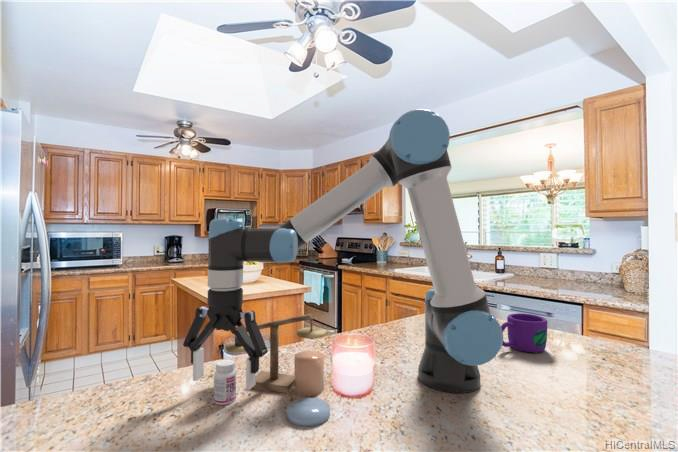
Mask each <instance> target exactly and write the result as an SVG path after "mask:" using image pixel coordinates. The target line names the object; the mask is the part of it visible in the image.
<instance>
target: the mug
mask: <svg viewBox="0 0 678 452" xmlns="http://www.w3.org/2000/svg"><path fill="white" fill-rule="evenodd" d="M506 319H507V320H506V322H504V323H502V324H500V326H501V328H502V331H503V332H504V331H505V329H507V339H508V340H507V342H505V341H504V340H503V344H502V347H505V348H509V347H512V348H513V349H515V350H516V349H517V351H519V350H520V351H519V352H523V351H525V352H524V353H528V352H539V353H542V352H543V351H546V350H545V349H546V347H547V341H548V320H547V318H545V317H542V316H540V315H536V314H530V313H517V312H516V313H511V314H508V315H507V318H506Z"/></svg>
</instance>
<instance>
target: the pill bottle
mask: <svg viewBox="0 0 678 452" xmlns="http://www.w3.org/2000/svg"><path fill="white" fill-rule="evenodd" d="M235 367H236V361H235V360H234V359H230V358H229V359H221V360H218V361H217V362H216V364H215V371H214V374H213V402H214V403H215V404H216V405H220V406H222V405H224V406H225V405H226V406H227V405H229V404H232V403H233V402H235V400H236V399H237V370H236V369H235Z"/></svg>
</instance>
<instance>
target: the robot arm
mask: <svg viewBox="0 0 678 452" xmlns="http://www.w3.org/2000/svg"><path fill="white" fill-rule="evenodd" d="M449 144H450V129H449V126H448V125H447V123H446V121H445V120H444V119H443V117H442V116H440V115H439V114H438V113H436V112H434V111H432V110H430V109H424V108H416V109H412V110H411V109H410V110H409V111H407V112H405V113H404V114H402V115H400V116H399V117H398V118H397V120H395V122H394V123H393V125H392V126H391V129H390V130H389V136H388V139H387V141H385V143H384V144H383V146H381V148H379V150H378V151H376V152H375V153H373V154H371V156H369V161H368V163H366V164H365V165H364V166H362V167H361V168H360V169H358V170H357V171H355V172H354V173H352V174H351V175H350V176H348V177H347V178H346V179H344V180H343V181H342V182H339V184H337V185H336V186H334V187H333V188H332V189H330V190H329V191H327V192H326V193H325V194H323V195H322V196H320V197H319V198H317V199H316V200H315V201H314V202H311V203H310V204H309V205H308V206H307V207H305V208H304V209H302V210H301V211H300V212H298V213H297V214H295V215H293V217H291V218H290V219H288V221H286V222H284V223H283V224H282V225H280V226H278V227H276V228H275V227H274V228H269V227H267V228H264V227H263V228H251V227H249V228H248V227H246V226H245V221H244V220H243V219H239V218H238V219H237V218H236V219H235V218H214V219H212V220H210V223H209V229H208V238H207V241H208V244H207V245H208V251H207V253H208V258H207V259H208V267H207V287H208V288H209V289H208V290H207V300H206V301H207V303H206V304H207V306H208V307H207V306H206V305H204V306H203V305H202V306H200V307H197V308H196V309H195V314H194V315H195V316H194V319H193V321H192V323H191V325H190V328H189V329H188V333H187V334H186V337H185V338H184V340H183V343H182V346H183V347H184V348H188V349H189V350H190V363H191V365H192V381H198V380H199V379H202V378H203V377H204V374H205V373H204V371H205V370H204V369H205V368H204V367H205V348H204V347H203V345H204V343H205V342H206V341H207V340H208V338H209V337H210V336H211V334H212V333H213V332H214V331H215V329H216V331H217V330H218V331H221V330H222V331H225V332H229V331H230V333H232V334H233V335H234V337H237V339H238V340H239V342H240V343H241V345H242V346H243V348H244V349H245V352H246V354H247V355H248V358H246V361H245V362H246V363H245V364H246V366H245V367H246V368H245V369H246V370H245V390H247V391H249V390H251V389H253V388H252V387H253V386H254V385H255V383H256V376H257V374H256V373H258V372H259V370H260V358H262V357H264V356H265V355H266V354H268V352H269V350H268V347H267V345H266V343H265V341H264V338H263V335H262V333H261V329H259V328H258V323H257V321H256V313H255V310H250V311H243V308H242V305H243V303H244V302H243V298H244V297H243V296H244V295H243V292H244V290H243V288H242V286H243V285H244V283H243V282H244V262H247V263H248V262H251V263H253V262H255V263H256V262H257V263H277V264H283V263H293V262H294V261H296V259H297V255H298V250H299V249H300V248H302V247H303V246H305V245H306V244H307V243H308V242H310V241H311V240H313V239H314V238H317V236H319V235H320V234H321V233H323V232H324V231H326V230H327V229H328V228H330V227H331V226H333V225H334V224H335V223H337V222H339V221H340V220H341V219H343V218H344V217H345V216H347V215H349V214H350V213H351V212H353V211H354V210H355V209H357V208H358V207H359V206H361V205H362V204H364V203H365V202H367V201H368V200H369V199H371V198H372V197H373V196H375V195H376V194H378V193H379V192H380V191H383V189H385V188H394V187H395V186H396V185H397V184H400V185H401V186H402V187H405V189H407V193H408V196H409V200H410V201H409V202H410V204H411V208H412V212H413V215H414V219H415V222H416V226H417V230H418V233H419V238H420V241H421V244H422V245H421V246H422V249H423V252H424V256H425V260H426V261H425V262H426V265H427V268H428V271H429V277H430V279H431V283H432V287H433V288H430V289H427V291H426V293H425V299H424V303H425V304H424V305H425V307H424V308H425V309H424V310H425V312H424V313H425V315H424V317H425V320H424V322H425V324H424V325H425V327H424V335H425V338H424V339H425V340H424V341H425V342H424V346H425V347H424V349H423V353H422V355H421V358H420V362H419V364H418V368H417V376H418V379H419V381H420V382H421V383H422V384H424V385H425V386H427V387H430V388H432V389H435V390H438V391H441V392H445V393H455V394H457V393H459V394H461V393H471V392H473V391H476V390H477V389H478V388H480V386H481V372H480V370H479V368H478V366H482V365H485V364H487V363H490V361H492V360H493V359H494V358H496V356H497V355H498V353H499V352H500V351H501V349H502V347H503V346H502V344H503V341H504V331H502V328H501V324H500V323H499V321H498V320H497V318H496V317H495V316H494V315H492V313H491V309H490V306H489V302H488V299H487V295H486V291H485V290H484V289H482V288H481V287H479V286H477V285H476V283H475V280H474V276H473V275H474V274H473V272H472V268H471V263H470V260H469V256H468V253H467V249H466V246H465V240H464V238H463V234H462V230H461V227H460V223H459V218H458V215H457V212H456V208H455V204H454V200H453V195H452V193H451V192H452V191H451V188H450V186H449V181H448V175H449V173H450V172H451V170H452V168H453V167H452V164H451V159H450V156H449V153H448V148H449ZM207 317H208V319H209V321H208V322H207V324H206V325H205V326H204V328H203V329H202V327H203V325H204V323H205V321H206V318H207ZM243 322H244V323H243ZM245 327H246V328H247V331H248V332H247V331H246V330H245ZM201 329H202V330H201Z"/></svg>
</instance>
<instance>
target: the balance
mask: <svg viewBox="0 0 678 452" xmlns="http://www.w3.org/2000/svg"><path fill="white" fill-rule="evenodd" d="M313 319H314V316H313V313H309V314H302V315H298V316H294V317H288V318H284V319H283V318H282V319H279V320H272V321H270V322H264V323H259V324H258V323H257V325H258V328H259V330H264V329H269V328H270V330H269V335H270V337H269V339H270V340H269V344H270V346H269V351H270V352H269V353H270V354H269V360H270V361H269V371H264V370H261V372H259V373H258V374H256V383H255V385H254V386H253V387H252V388H251V389H255V390H263V391H270V392H275V393H276V392H278V393H282V394H289V393H290V392H291V390H292V389H294V376H295V374H286V373H279V335H280V334H279V333H280V332H279V327H280V326H283V325H288V324H289V325H290V324H294V323H298V322H303V321H309V320H310V323H309V324H310V325H309V327H303V328H299V329H297V330H296V336H297V337H298V338H301V339H305V340H306V339H309V340H313V339H321V338H324V337H325V336H326V335H327V330H326V329H325V328H322V327H317V326H313ZM245 330H246V331H247V328H246V326H245ZM247 333H248V331H247ZM224 349H225V351H226V352H230V353H244V352H246V351H245V349H244V348H243V346H242V345H241V343H240V342H239V340H238V339H237V337H236V336H234V341H232V342H231V341H230V342H228V343H226V344H225V346H224Z"/></svg>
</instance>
